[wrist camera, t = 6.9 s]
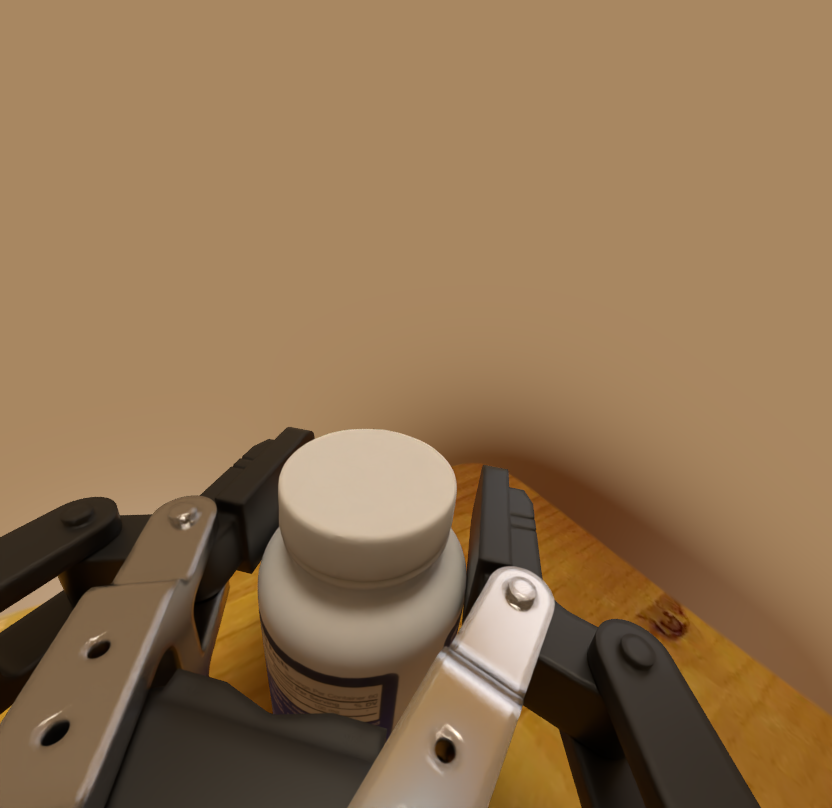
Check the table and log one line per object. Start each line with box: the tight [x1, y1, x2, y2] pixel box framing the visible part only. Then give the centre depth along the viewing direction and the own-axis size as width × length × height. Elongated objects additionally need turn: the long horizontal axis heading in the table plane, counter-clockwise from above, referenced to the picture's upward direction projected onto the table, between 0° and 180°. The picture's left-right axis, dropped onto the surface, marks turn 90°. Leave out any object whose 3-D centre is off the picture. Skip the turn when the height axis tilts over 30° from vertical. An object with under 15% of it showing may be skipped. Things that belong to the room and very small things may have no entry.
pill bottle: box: [258, 429, 467, 743], centre depth 11 cm, size 5×5×9 cm
